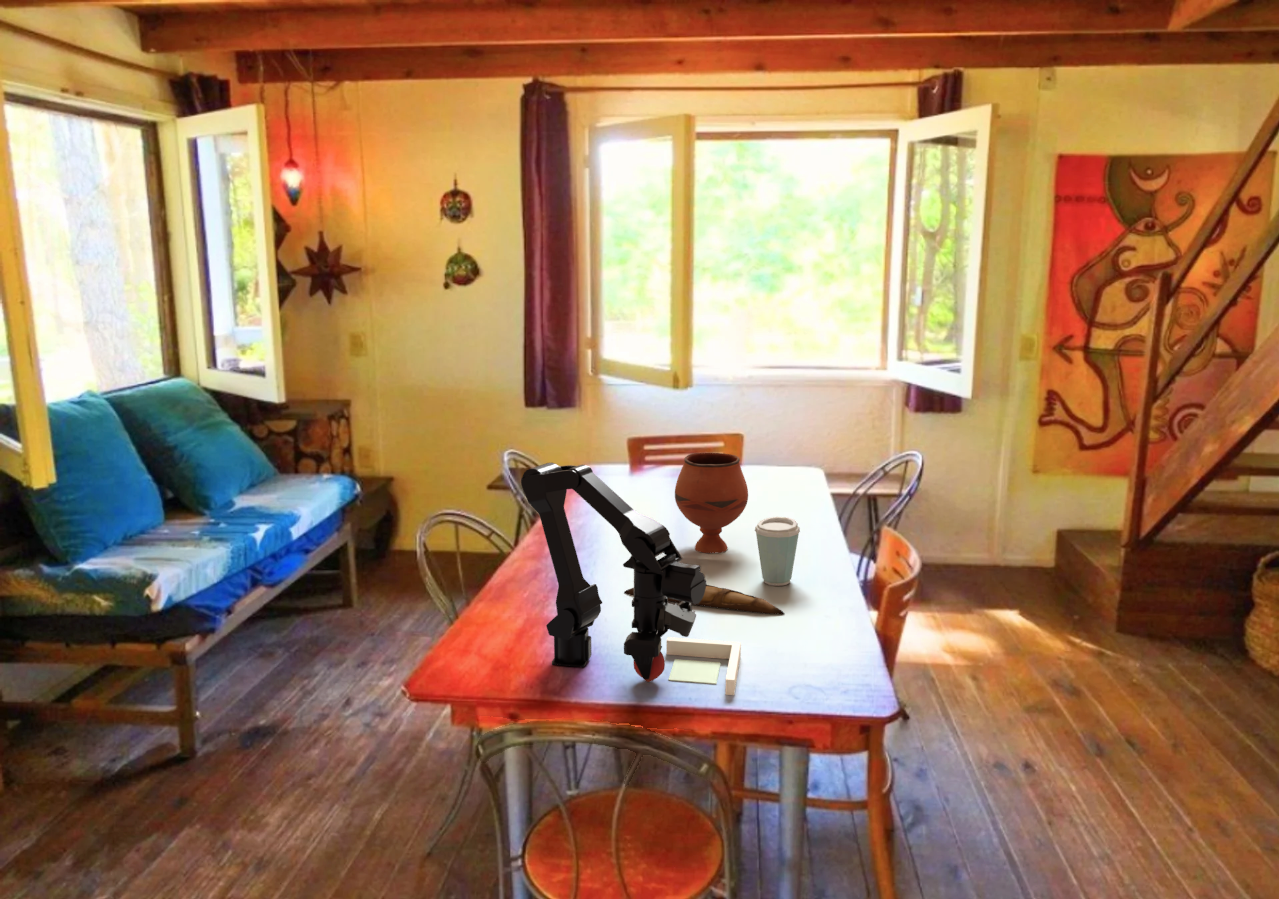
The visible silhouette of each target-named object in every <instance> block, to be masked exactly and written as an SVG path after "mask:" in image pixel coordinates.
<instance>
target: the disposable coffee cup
mask: <svg viewBox="0 0 1279 899" xmlns="http://www.w3.org/2000/svg"><path fill="white" fill-rule="evenodd" d="M798 524H799V523H798V522H797V520H796V519H794V518H790V517H785V516H772V517H766V518H764V519H761V520H759V521H758V523H757V525H756V526H755V529H754V531H755V534H756V541H757V547H758V548H757V549H758V555H759V561H760V568H761V577H762V579H763V582H764V583H765V584H766V585H769V586H776V587H778V586H779V587H781V586H786V585H789V584H790V582H791V580H792V577H793V572H794V563H795V557H796V551H797V546H798V540H799V534H800V533H801V531H800V529H801V528H800V527H799V525H798Z"/></svg>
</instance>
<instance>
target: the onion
mask: <svg viewBox="0 0 1279 899" xmlns="http://www.w3.org/2000/svg"><path fill="white" fill-rule="evenodd" d="M665 666H666V662H665V657H664V654H663V652H662V651H660V653H659V656H657V657H654V658H653V663H652V668H651V673H650V678H649V679H643V677H642V675H641V673H640V671H639V669H638V667H637V665H636V663H635V661H634V660H633V669H634V670H635V673H636V674H637V675H638V676H639V677H641V678H642V679H643V680H644V681H645V682H647V683H650V682H653V681H654V680H656V679H658V678H659V677H660V676H661V675H662V674H663V672H664V671H665V668H666V667H665Z"/></svg>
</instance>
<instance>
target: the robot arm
mask: <svg viewBox="0 0 1279 899" xmlns="http://www.w3.org/2000/svg"><path fill="white" fill-rule="evenodd" d="M593 471H594V470H593V469H592V468H591V466H589V465H587V464H579V465H572V464H571V465H569V464H568V465H561V466H560V465H558V464H557V463H554V462H547V463H542V464H540V465H537V466H535V467H531V468H529V469H526V470H525V471H524V472H523V474H522V476H521V478H520V486H521V489H522V491H523V494H524V496H525V497H526V500H527V502H528V504H529V505H530V506H531V507H532V508H533V509H534V511H536V512H537V514H538V516H539V518H540V519H539V520H540V522H541V526H542V529H543V530H542V531H543V533H544V538H545V539H546V543H547V547H548V552H549V555H550V558H551V562H552V565H553V569H554V573H555V576H556V581H557V583H558V586H557V588H558V589H557V593H556V599H555V606H556V615H555V617H553V619H551V620H550V621H549V622H548V623H546V625H545V626H546V630H547V633H548V635H549V636H551V637H553V651H554V653H553V657H554V658H553V659H552V661H551V665H552V666H560V667H561V666H562V667H574V668H584V667H586V664H587V663H588V662H589V661H590V658H591V657H592V636H591V635H589V628H590V627H592V626H593V625H594V623H595V621H596V619H597V618H599V615H600V613H601V611H602V607H601V605H602V604H603V601H602V599H601V597H600V595H599V589H598V588H599V587H598V586H597V584H595V583H594V584H590V583H589V582H588V581H587V580H586V579H585V578H584V576H583V572H582V569H581V565H580V560H579V557H578V554H577V550H576V546H575V542H574V539H573V536H572V531H571V529H570V525H569V521H568V517H567V514H566V513H567V512H566V510H565V503H566V498H567V490H573V491H574V492H575V493H576V494H577V495H578V496H579V497H581V499H583V500H584V501H585V502H586V503H587V504H588V505H589V506H590V507H591V508H592V509H594V511H596V512H597V514H599V515H600V516H601V517H602V518H603V519H604V520H605V521H606V522H608V524H610V526H611V527H613V528H614V529H615V530H616V531H617V532H616V533H618V535H619V538H620V541H621V544H622V545H623V547H625V549H626V550H627V551H628V552H629V554H630V555H631V556H630V557H629V559H627V561H625V562H624V563H622V566H623V567H624V568H627V569H633V588H634V595H633V598H632V600H631V607H632V608H633V620H632V621H631V628H632V629H636V631H632V632H630V633H629V634H628V635H627V636H626V638H625V641H624V643H623V654H625V655H626V656H631V657H632V659H633V662H634V661H635V663H636V665H637V667H638V669H639V671H640V673H641V675H642V677H643V678H642V677H641V678H642V679H643V680H644V679H649V678H650V673H651V668H652V663H653V658H654V657H657V656H659V653H660V651H661V650H662V648H663V645H662V637H663V636H664V635H665V634H667V632H669V630H670V631H672V632H674V633H677V634H679V635H680V636H682V637H683V638H684V637H685V638H687V637H689V636H690V633H691V632H692V629H693V627H694V623H695V621H696V618H697V614H696V611H695V610H693V606H692V604H691V603H693V604H698V603H699V602H700V601H701V600H702V598H703V596H704V593H705V589H706V585H707V580H706V579H705V574H704V573H703V572H701V566H700V564H689V563H684V562H680V561H682V560H683V557H682V556H681V554H680V552H679V551H678V549H677V547H676V545H675V544H674V542H673V540H672V539H671V537H670V536H671V535H670V534H671V533H670V531H669V530H668V528H667V527H665V525H663V524H661V523H660V522H659V521H658V520H656V519H654V518H653V517H650V516H648V515H645V514H643V513H639V512H638V511H637V510H635V509H634V508H632V507H631V505H629V504H628V503H627V502H626V501H625V500H624V499H622V497H620V496H619V495H618V494H617V493H616V492H615V491H614V490H613V489H612V488H610V486H608V485H607V484H606V483H605V482H604V481H603V480H602V479H601V478H599V476H598V475H597V474H595V472H593ZM661 554H664V556H663V557H660V558H659V559H657V557H658V556H660V555H661ZM668 598H671V599H675V600H679V601H682V602H680V603H677V602H674V604H673V603H671V602H670V603H669V601H668ZM661 652H662V651H661Z"/></svg>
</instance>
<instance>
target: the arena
mask: <svg viewBox="0 0 1279 899" xmlns="http://www.w3.org/2000/svg"><path fill="white" fill-rule="evenodd" d="M741 646H742V642H740V641H725V640H713V639H712V640H711V639H700V638H687V637H685V638H684V637H674V636H673V637H671V636H668V637H667V638H666V649H665V650H666V653H665V654H666V655H669V656H670V655H671V656H682V657H683V656H685V657H696V658H698V657H699V658H706V659H707V658H710V659H711V658H712V659H723V660H728V665H727V671H726V676H725V693H724V694H725V695H726V696H735V692H736V686H737V679H738V674H739V669H740V662H741V656H742V655H741V654H742V653H741V650H742V647H741ZM721 664H722V663H721V662H719V661H707V660H706V661H705V660H704V661H703V660H693V659H679V658H674V661H673V663H672V668H671V671H670V673H669V676H668V681H670V682H684V683H696V684H707V685H708V684H709V685H717V682H718V678H719V672H720V668H721Z"/></svg>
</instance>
